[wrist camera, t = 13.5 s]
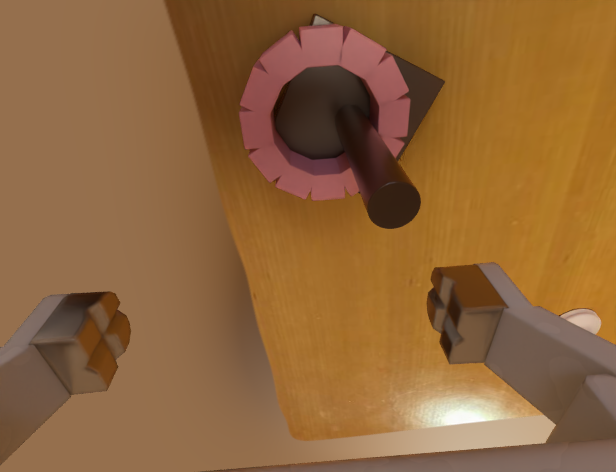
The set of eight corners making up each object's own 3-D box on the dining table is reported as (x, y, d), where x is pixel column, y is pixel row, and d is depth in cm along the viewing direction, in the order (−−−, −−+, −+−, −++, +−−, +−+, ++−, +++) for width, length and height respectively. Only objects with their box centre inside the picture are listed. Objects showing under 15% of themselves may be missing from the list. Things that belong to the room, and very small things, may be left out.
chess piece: (583, 341, 39) (664, 433, 30) (540, 341, 38) (610, 434, 30) (606, 308, 36) (701, 399, 28) (560, 308, 36) (642, 400, 27)
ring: (257, 187, 26) (254, 205, 23) (232, 32, 20) (224, 35, 18) (392, 176, 26) (402, 194, 23) (403, 18, 20) (418, 19, 18)
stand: (263, 147, 26) (240, 260, 14) (314, 13, 21) (340, 19, 10) (371, 191, 28) (426, 317, 16) (437, 77, 23) (575, 143, 12)
